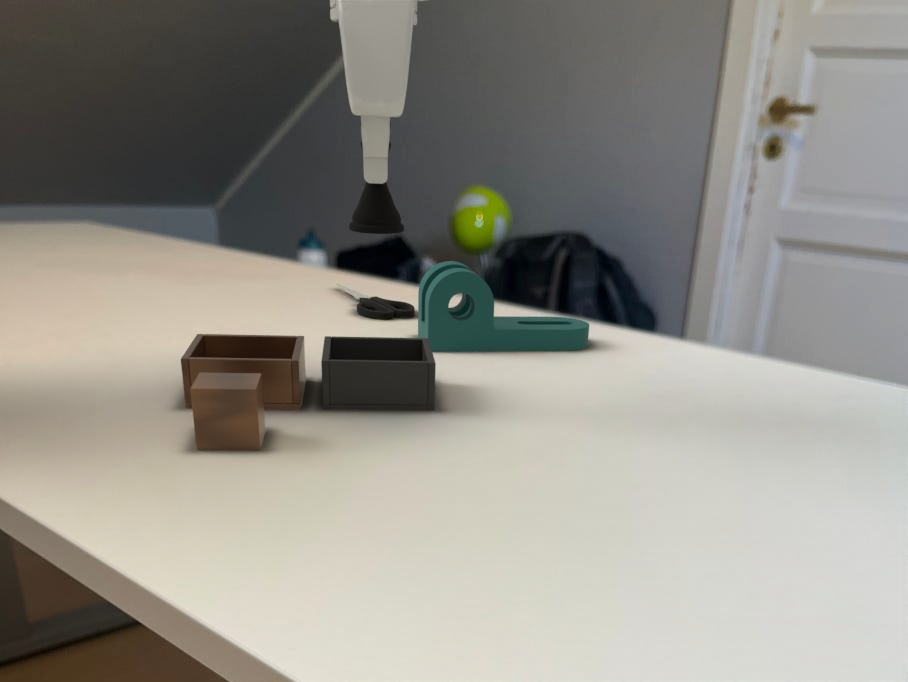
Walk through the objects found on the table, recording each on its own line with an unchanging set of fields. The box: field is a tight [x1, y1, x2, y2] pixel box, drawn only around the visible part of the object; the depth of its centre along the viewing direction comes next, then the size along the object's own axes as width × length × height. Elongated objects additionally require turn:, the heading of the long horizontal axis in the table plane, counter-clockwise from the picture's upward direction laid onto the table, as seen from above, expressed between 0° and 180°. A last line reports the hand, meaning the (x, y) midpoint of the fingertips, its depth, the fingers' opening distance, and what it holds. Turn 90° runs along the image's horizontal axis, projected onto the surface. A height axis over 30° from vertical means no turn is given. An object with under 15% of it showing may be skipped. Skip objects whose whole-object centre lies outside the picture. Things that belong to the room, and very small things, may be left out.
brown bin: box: [180, 333, 307, 410], centre depth 82 cm, size 9×9×4 cm
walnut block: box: [190, 372, 266, 451], centre depth 71 cm, size 4×4×4 cm
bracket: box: [417, 260, 590, 353], centre depth 102 cm, size 18×7×8 cm, turn 102°
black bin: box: [320, 335, 436, 412], centre depth 83 cm, size 9×9×4 cm
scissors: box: [335, 283, 416, 320], centre depth 120 cm, size 7×1×20 cm
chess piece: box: [348, 122, 405, 235], centre depth 75 cm, size 4×4×10 cm
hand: (375, 181), depth 76 cm, fingers closed on chess piece, 2 cm apart
